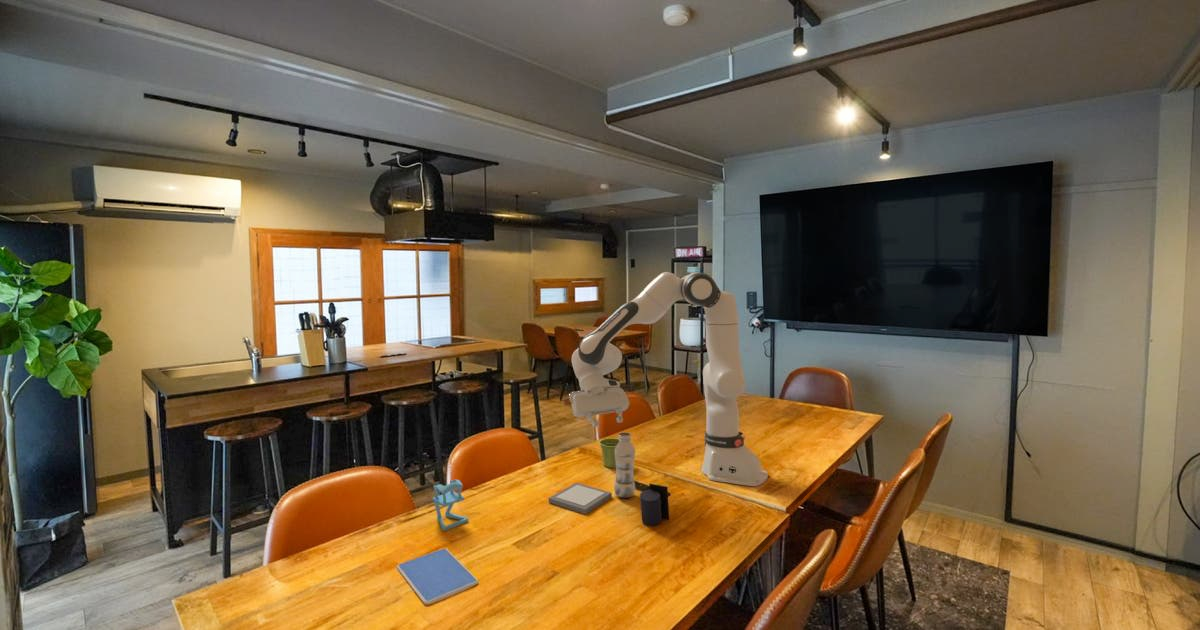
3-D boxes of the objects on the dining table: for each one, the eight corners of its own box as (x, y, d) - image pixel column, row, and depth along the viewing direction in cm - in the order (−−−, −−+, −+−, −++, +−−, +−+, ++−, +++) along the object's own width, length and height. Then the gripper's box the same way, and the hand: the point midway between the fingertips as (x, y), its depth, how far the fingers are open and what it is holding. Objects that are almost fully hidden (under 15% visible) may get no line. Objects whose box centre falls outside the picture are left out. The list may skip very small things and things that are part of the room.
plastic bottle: (613, 492, 165) (612, 431, 164) (633, 491, 166) (633, 430, 164) (615, 501, 159) (614, 438, 157) (637, 500, 159) (636, 437, 158)
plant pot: (625, 460, 193) (625, 438, 193) (624, 470, 184) (624, 446, 183) (600, 460, 194) (600, 437, 193) (598, 469, 185) (598, 446, 184)
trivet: (611, 497, 162) (611, 492, 161) (585, 514, 150) (585, 509, 150) (576, 487, 170) (576, 482, 169) (548, 502, 158) (548, 497, 158)
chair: (454, 512, 152) (452, 473, 152) (468, 521, 147) (467, 480, 146) (429, 521, 147) (427, 480, 146) (443, 531, 141) (441, 488, 140)
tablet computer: (395, 569, 124) (395, 563, 124) (445, 551, 132) (445, 546, 132) (425, 608, 109) (425, 602, 109) (479, 585, 117) (479, 580, 117)
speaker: (654, 512, 151) (653, 479, 149) (669, 519, 147) (668, 486, 145) (636, 523, 146) (635, 489, 144) (652, 531, 142) (651, 497, 140)
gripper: (569, 387, 171) (583, 423, 163) (622, 380, 180) (637, 414, 172) (564, 397, 175) (577, 433, 167) (616, 390, 185) (630, 424, 177)
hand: (608, 423), depth 170 cm, fingers open, 8 cm apart
